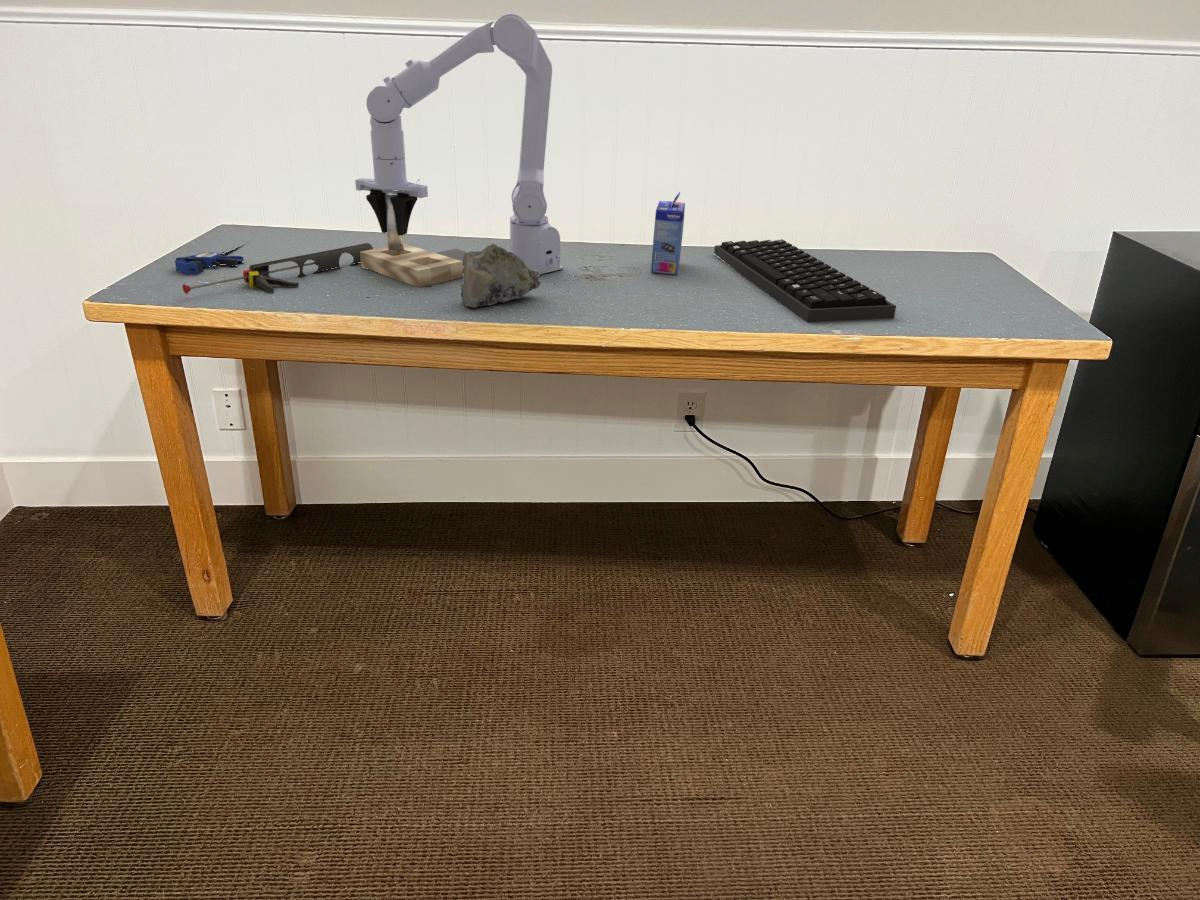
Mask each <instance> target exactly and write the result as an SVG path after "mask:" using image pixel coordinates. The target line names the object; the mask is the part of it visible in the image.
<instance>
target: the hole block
mask: <svg viewBox="0 0 1200 900" xmlns="http://www.w3.org/2000/svg"><path fill="white" fill-rule="evenodd" d="M360 258H361V263H360V267H361V266H363V267H365V268H368V269H370V270H373V271H375V272H374V273H376V272H378V273H377V274H379V273H381V274H380V275H382V274H383V275H382V276H385V275H386V276H385V277H388V276H389V277H388V278H391V279H393V280H394V279H395V280H397V281H400V282H402V283H406V284H408V285H411V286H414V287H417V288H422V287H426V286H427V287H428V286H430V285H435V284H440V283H443V282H444V283H445V282H448V281H452V280H456V279H457V280H458V279H462V278H464V273H462V272H463V262H462V261H460V260H457V259H453V258H450V257H447V256H443V255H440V254H437V252H434V251H433V252H432V251H429V250H426V249H423V248H419V247H416V246H413V245H411V244H410V245H409V244H408V243H407V244H406V243H404V250H399V251H393V250H388V246H383V247H379V248H373V249H372V250H367V251H361V252H360ZM370 270H369V271H370ZM373 271H372V272H373Z"/></svg>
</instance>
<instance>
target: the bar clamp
mask: <svg viewBox="0 0 1200 900" xmlns="http://www.w3.org/2000/svg"><path fill="white" fill-rule="evenodd" d="M222 253H224V251H222V252H220V253H219V252H201V253H197V254H194V255H189V256H183V257H175V260H174V265H175V269H176V270H178V271H180V272H179V273H181V272H182V274H184V273H185V274H184V275H200V274H202V273H203V272H204V268H203V267H209V266H210V267H212V266H213V265H216V266H215V267H221V266H222V265H220V264H226V265H233V266H235V265H238V266H239V263H237V262H242V261H244V262H245V260H244V257H243V256H242V255H227V254H226V253H227V252H226V253H224V254H226V255H224V254H222ZM223 255H224V256H223ZM233 266H232V267H233ZM176 270H175V271H176ZM178 271H177V272H178ZM202 271H203V272H202ZM201 272H202V273H201ZM199 273H200V274H199Z"/></svg>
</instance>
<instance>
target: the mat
mask: <svg viewBox="0 0 1200 900" xmlns="http://www.w3.org/2000/svg"><path fill="white" fill-rule="evenodd" d="M466 252H467V251H465V250H462V249H458V248H453V249H448V250H443V251H438V252H436V253H437V254H440V255H443V256H447V257H450V258H453V259H457V260H460V261H462V262H463V257H464V254H465V253H466ZM463 265H464V264H463Z"/></svg>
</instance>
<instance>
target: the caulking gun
mask: <svg viewBox="0 0 1200 900" xmlns="http://www.w3.org/2000/svg"><path fill="white" fill-rule="evenodd" d="M372 249H374V248H373V246H372V245H371V244H370V243H369V242H366V243H361V244H355V245H350V246H344V247H339V248H334V249H333V248H332V249H329V250H323V251H317V252H313V253H308V254H307V253H306V254H302V255H297V256H296V255H295V256H291V257H286V258H285V257H284V258H281V259H280V258H279V259H276V260H271V261H265V262H259V263H255V264H250V265H249V268H248V269H246V270H243V271H242V276H237V277H236V276H235V277H232V278H228V279H227V278H226V279H222V280H217V281H213V282H207V283H202V284H197V285H192V286H190V285H186V284H185V283H183V284H182V290H183V292H184V293H185V295H187V294H189V292H190V291H191V290H195V289H198V288H203V287H204V288H205V287H208V286H213V285H214V286H215V285H218V284H223V283H224V284H225V283H230V282H233V281H239V280H243V281H244V283H246V284H249V287H250V289H255V288H261V289H262V290H264V291H265V292H267V293H270V294H271V293H272V294H274V293H275V288H273V287H272V285H274V286H280V287H285V288H290V287H289V286H292V287H291V288H294V287H293V286H297V287H296V288H299V287H300V286H299V285H300V283H299V282H298V281H297V282H292V281H288V280H286V279H283V278H279V277H277V278H276V277H272V276H270V274H273V273H277V272H283V271H287V270H293V269H299V273H298V275H297V276H298V277H301V276H300V275H303V276H305V273H304V267H308V266H312V265H313V266H314V265H315V266H317V270H315V272H317V273H319V272H318V271H322V270H326V269H331V268H335V267H341V266H340V259H341V256H342V254H349V255H351V257H352V258H353V261H352V262H351V264H353V263H358V262H361V258H360V252H361V251H367V250H372ZM307 261H312V262H307ZM313 261H314V262H313ZM287 262H293V263H295V264H297V265H291V266H288V267H282V268H278V269H277V268H276V269H272V270H270V266H273V265H277V264H283V263H287ZM306 262H307V263H306ZM331 270H332V269H331ZM322 272H323V271H322ZM259 286H260V287H259ZM298 286H299V287H298Z"/></svg>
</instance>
